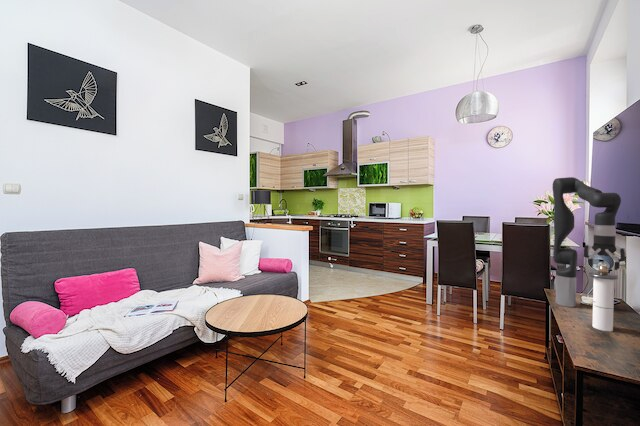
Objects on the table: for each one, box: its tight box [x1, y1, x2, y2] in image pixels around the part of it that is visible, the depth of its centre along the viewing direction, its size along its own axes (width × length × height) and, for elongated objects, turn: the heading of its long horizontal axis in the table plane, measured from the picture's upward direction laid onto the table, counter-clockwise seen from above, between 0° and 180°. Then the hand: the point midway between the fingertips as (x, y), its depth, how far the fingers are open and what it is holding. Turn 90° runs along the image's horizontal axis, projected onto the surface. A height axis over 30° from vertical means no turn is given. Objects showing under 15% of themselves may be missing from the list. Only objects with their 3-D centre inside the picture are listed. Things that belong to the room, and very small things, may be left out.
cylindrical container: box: [591, 277, 615, 332], centre depth 141 cm, size 7×7×25 cm
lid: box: [588, 265, 619, 281], centre depth 140 cm, size 10×10×5 cm
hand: (603, 268), depth 140 cm, fingers open, 8 cm apart
